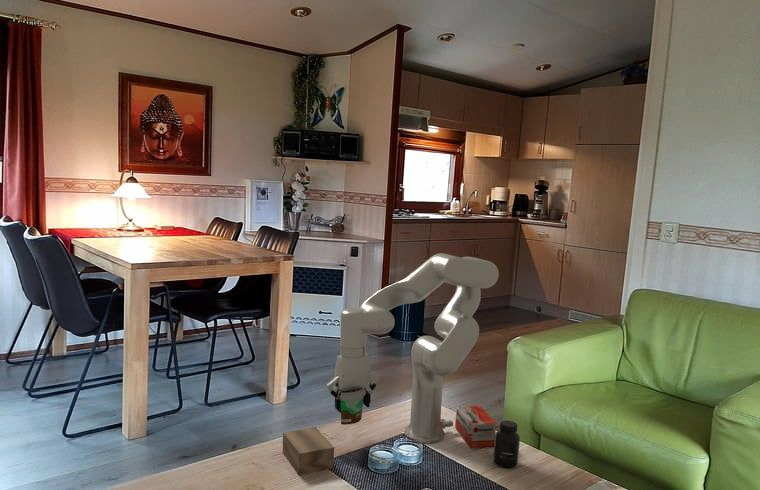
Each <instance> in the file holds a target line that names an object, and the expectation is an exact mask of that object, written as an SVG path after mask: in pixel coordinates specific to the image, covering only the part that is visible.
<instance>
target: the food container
mask: <svg viewBox="0 0 760 490" xmlns="http://www.w3.org/2000/svg"><path fill="white" fill-rule="evenodd" d="M365 394H366V389H365V388H362V389H357V390H351V391H344V393H341V396H340V400H341V413H340V425H344V426H345V425H346V426H347V425H353V424H357V423H359V422H360V421H362V416H363V407H364V406H363V405H364V404H363V397H364V395H365Z"/></svg>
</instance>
